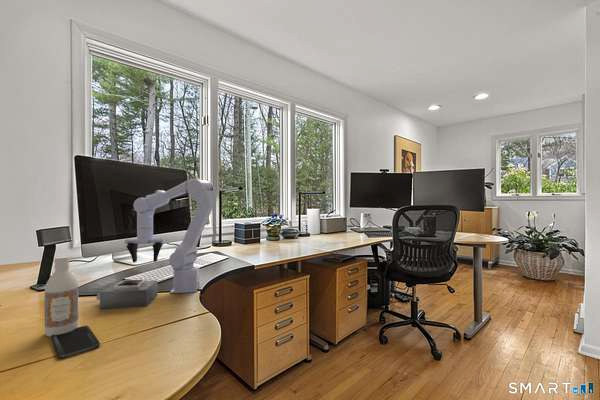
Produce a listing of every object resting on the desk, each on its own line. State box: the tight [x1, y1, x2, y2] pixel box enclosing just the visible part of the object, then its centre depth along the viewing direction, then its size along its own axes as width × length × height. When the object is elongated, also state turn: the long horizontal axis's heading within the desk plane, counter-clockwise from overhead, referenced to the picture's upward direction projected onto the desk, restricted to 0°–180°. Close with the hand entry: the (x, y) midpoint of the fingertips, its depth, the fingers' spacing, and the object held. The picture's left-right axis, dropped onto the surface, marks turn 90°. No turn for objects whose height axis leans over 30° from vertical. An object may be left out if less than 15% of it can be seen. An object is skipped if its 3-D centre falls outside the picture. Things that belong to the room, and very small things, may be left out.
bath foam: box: [44, 255, 79, 338], centre depth 76 cm, size 7×7×20 cm
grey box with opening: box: [96, 278, 158, 310], centre depth 98 cm, size 17×11×7 cm, turn 100°
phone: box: [50, 325, 101, 360], centre depth 70 cm, size 8×1×15 cm
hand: (145, 261), depth 114 cm, fingers open, 7 cm apart
